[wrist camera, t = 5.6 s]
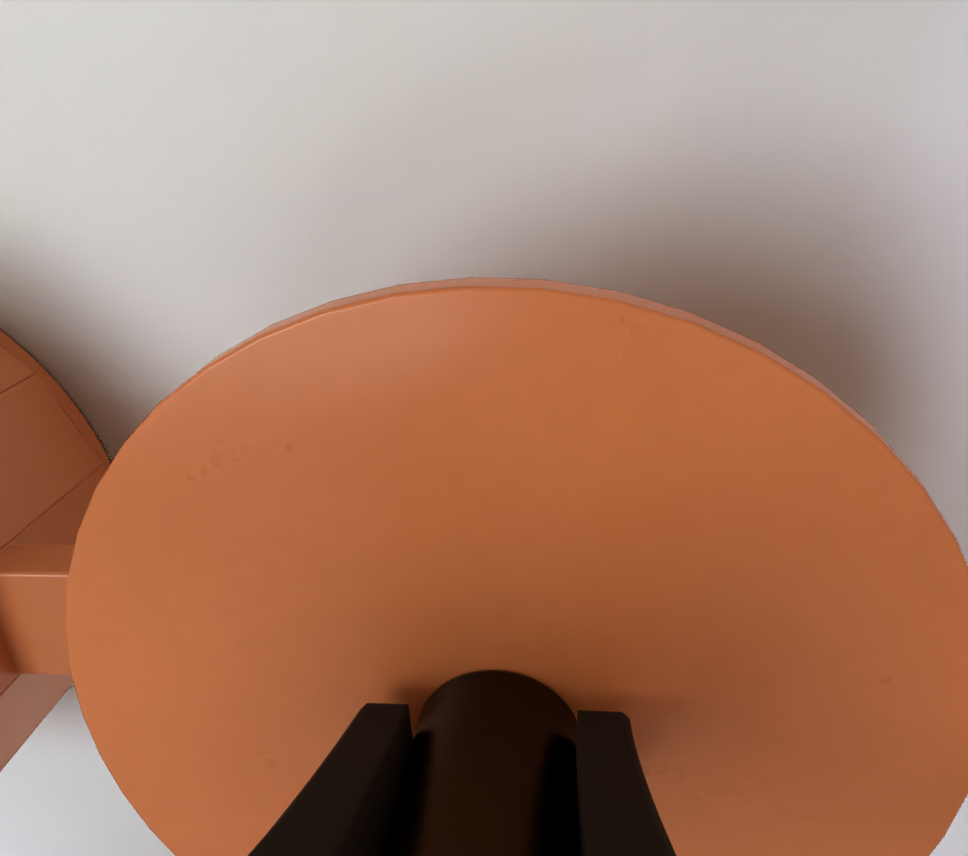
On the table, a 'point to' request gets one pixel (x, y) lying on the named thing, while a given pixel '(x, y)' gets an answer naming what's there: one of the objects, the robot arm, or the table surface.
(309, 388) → the lid
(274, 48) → the table surface
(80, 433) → the pan
